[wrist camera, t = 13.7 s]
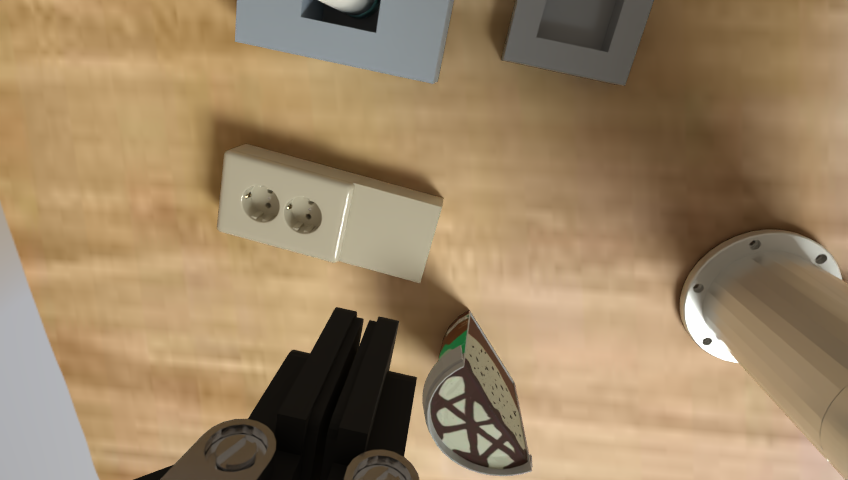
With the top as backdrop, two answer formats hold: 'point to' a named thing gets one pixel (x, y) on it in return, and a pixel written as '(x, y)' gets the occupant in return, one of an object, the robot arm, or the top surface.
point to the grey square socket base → (577, 36)
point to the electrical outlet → (326, 212)
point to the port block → (352, 34)
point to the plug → (355, 7)
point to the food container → (475, 404)
